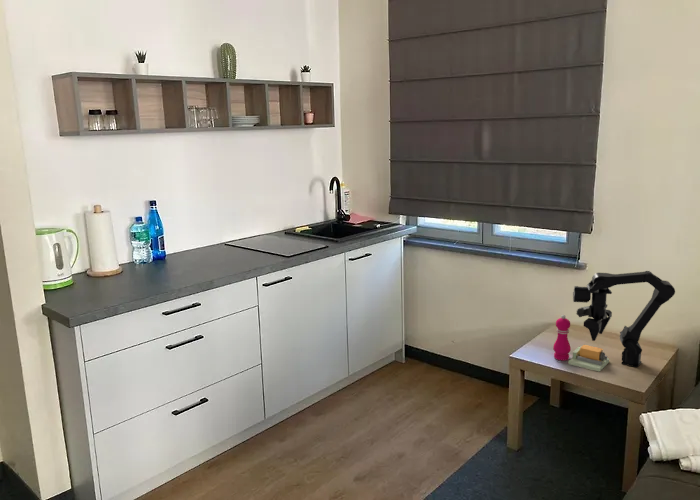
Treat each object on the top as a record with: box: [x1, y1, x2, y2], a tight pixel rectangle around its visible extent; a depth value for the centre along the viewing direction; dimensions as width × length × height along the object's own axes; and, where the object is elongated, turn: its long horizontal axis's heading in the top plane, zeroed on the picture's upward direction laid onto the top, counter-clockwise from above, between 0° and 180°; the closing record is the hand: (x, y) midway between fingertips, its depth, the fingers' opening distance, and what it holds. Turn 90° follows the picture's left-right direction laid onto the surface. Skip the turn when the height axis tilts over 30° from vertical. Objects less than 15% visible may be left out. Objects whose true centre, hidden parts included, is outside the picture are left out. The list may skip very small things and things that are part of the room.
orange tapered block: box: [580, 344, 606, 361], centre depth 251 cm, size 9×4×5 cm, turn 49°
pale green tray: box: [567, 346, 610, 372], centre depth 251 cm, size 13×12×4 cm
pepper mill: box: [553, 314, 572, 362], centre depth 256 cm, size 7×7×20 cm
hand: (597, 337), depth 251 cm, fingers open, 9 cm apart
